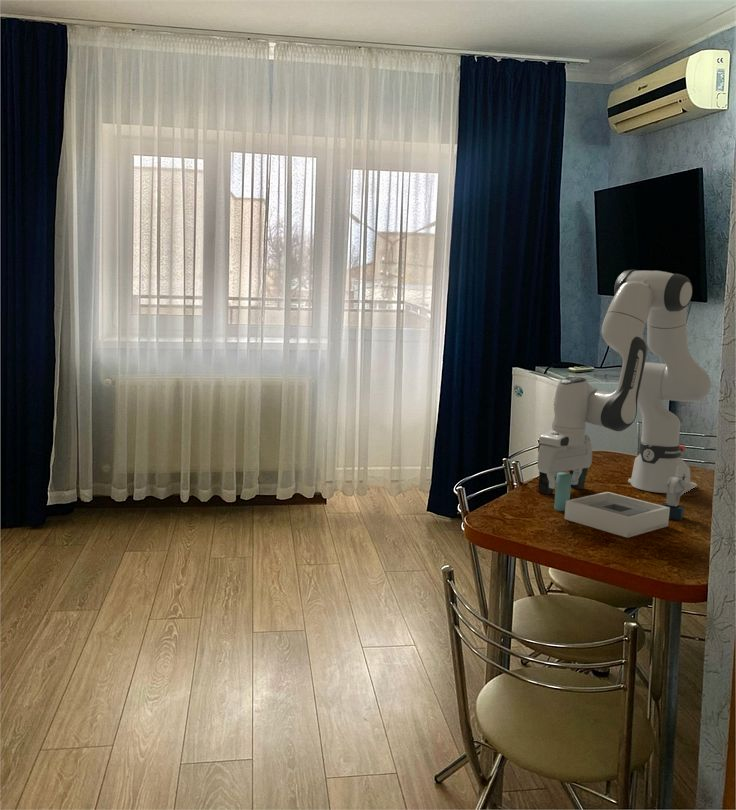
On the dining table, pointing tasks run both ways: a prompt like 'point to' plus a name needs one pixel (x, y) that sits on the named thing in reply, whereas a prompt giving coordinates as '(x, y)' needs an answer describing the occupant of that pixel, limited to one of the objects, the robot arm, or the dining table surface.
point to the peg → (562, 490)
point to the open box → (617, 514)
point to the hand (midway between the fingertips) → (563, 486)
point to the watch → (675, 497)
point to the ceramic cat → (544, 481)
